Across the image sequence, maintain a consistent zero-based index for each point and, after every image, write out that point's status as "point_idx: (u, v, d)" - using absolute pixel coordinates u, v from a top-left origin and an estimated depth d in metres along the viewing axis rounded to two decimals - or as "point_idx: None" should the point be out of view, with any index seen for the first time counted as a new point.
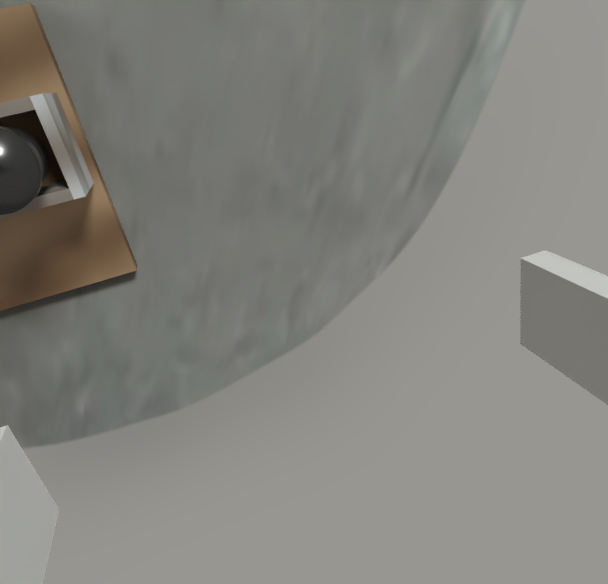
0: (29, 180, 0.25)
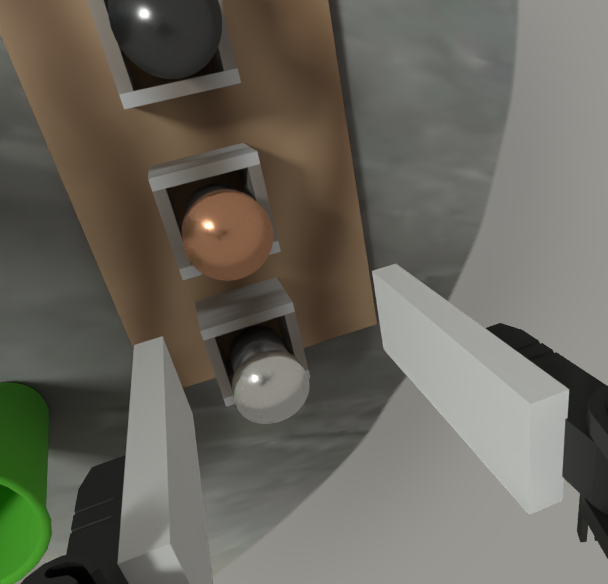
0: None
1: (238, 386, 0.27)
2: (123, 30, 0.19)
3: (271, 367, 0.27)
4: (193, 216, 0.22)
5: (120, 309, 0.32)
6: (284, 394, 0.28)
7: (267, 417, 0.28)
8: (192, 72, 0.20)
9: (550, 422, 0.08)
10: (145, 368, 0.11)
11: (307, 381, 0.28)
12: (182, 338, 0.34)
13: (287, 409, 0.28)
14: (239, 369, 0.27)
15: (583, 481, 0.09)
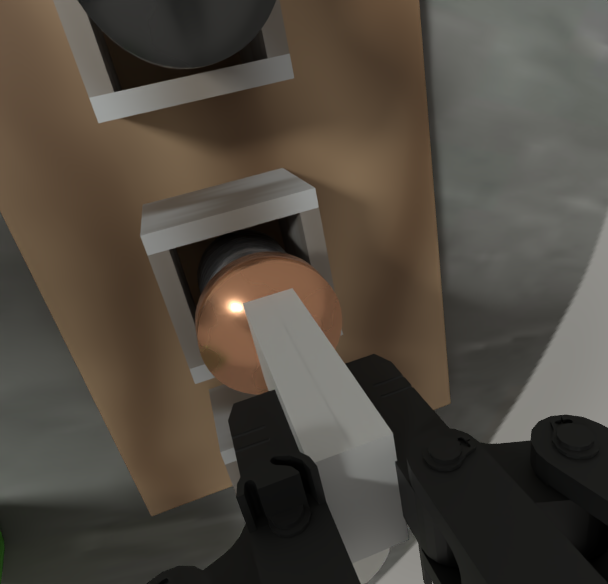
0: None
1: None
2: None
3: None
4: (215, 301, 0.13)
5: (102, 406, 0.22)
6: None
7: None
8: (223, 56, 0.10)
9: (378, 465, 0.08)
10: (263, 320, 0.12)
11: None
12: (191, 438, 0.24)
13: None
14: None
15: (417, 533, 0.08)
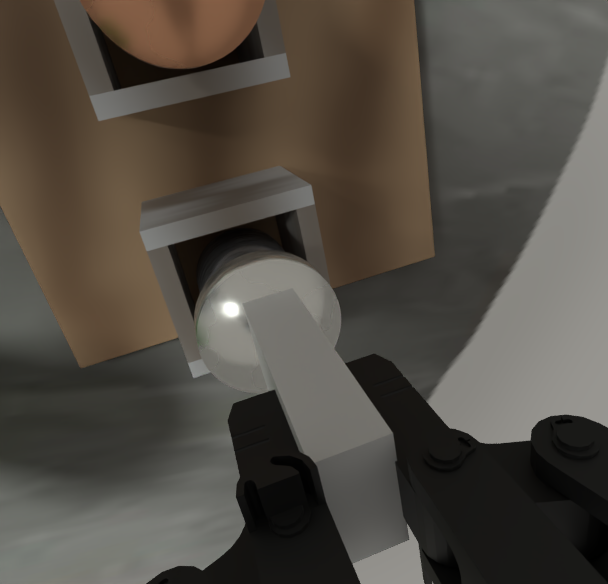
0: None
1: (204, 316, 0.14)
2: None
3: (269, 279, 0.14)
4: None
5: (9, 209, 0.18)
6: None
7: (261, 380, 0.15)
8: None
9: (378, 465, 0.08)
10: (263, 321, 0.12)
11: (337, 312, 0.15)
12: (123, 267, 0.21)
13: None
14: (207, 285, 0.14)
15: (417, 533, 0.08)
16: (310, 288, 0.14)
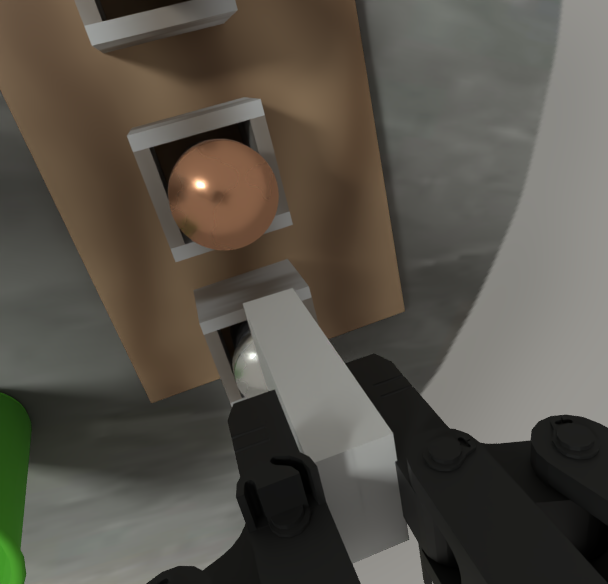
0: None
1: (239, 363, 0.24)
2: None
3: None
4: (180, 170, 0.18)
5: (106, 301, 0.27)
6: None
7: None
8: None
9: (378, 465, 0.08)
10: (263, 320, 0.12)
11: None
12: (181, 333, 0.29)
13: None
14: (239, 345, 0.24)
15: (417, 532, 0.08)
16: None
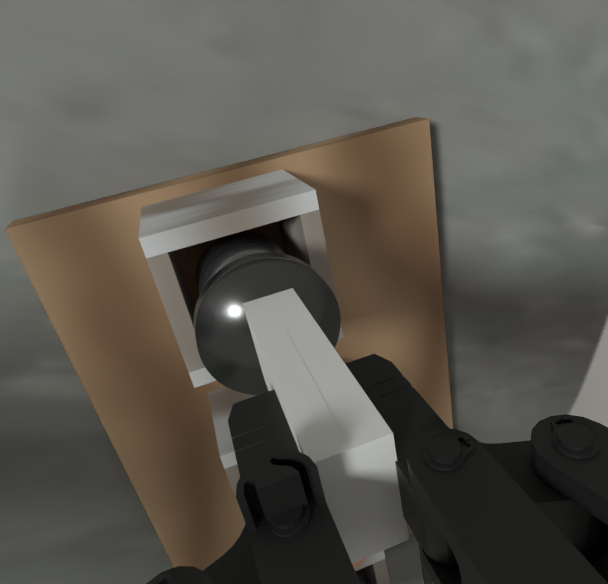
0: (288, 278, 0.14)
1: None
2: (215, 354, 0.14)
3: None
4: None
5: (166, 543, 0.26)
6: None
7: None
8: None
9: (378, 465, 0.08)
10: (263, 321, 0.12)
11: None
12: None
13: None
14: None
15: (418, 533, 0.08)
16: None
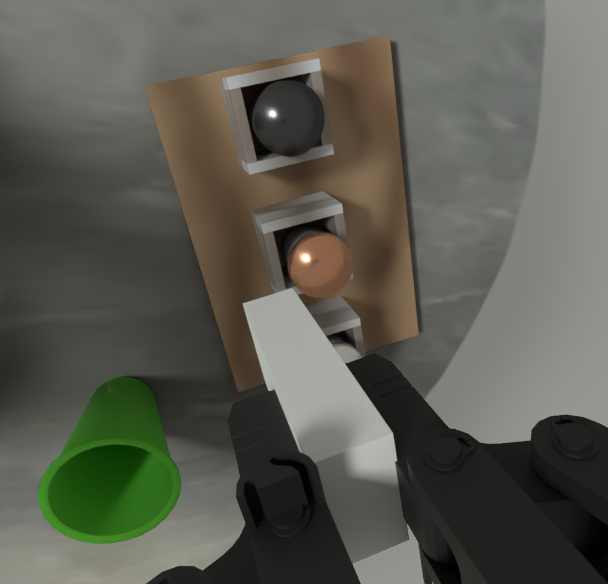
0: (299, 90, 0.29)
1: None
2: (262, 128, 0.29)
3: (338, 353, 0.37)
4: (299, 252, 0.31)
5: (219, 320, 0.40)
6: None
7: None
8: (303, 152, 0.30)
9: (378, 465, 0.08)
10: (263, 321, 0.12)
11: None
12: None
13: None
14: None
15: (417, 533, 0.08)
16: (353, 356, 0.37)
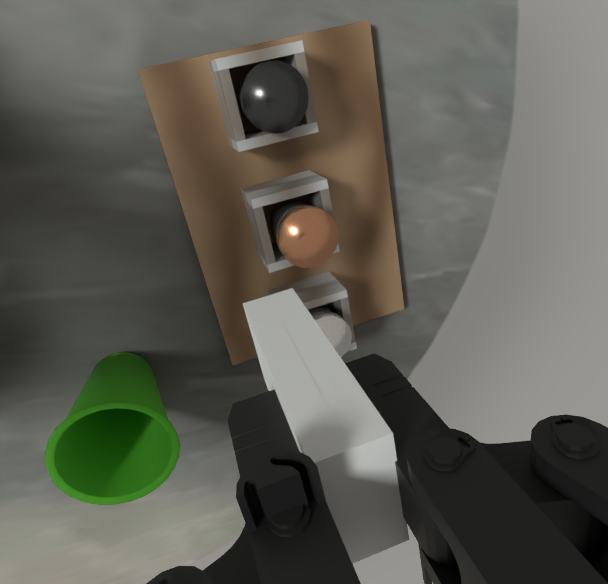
0: (283, 69, 0.31)
1: None
2: (250, 106, 0.31)
3: (327, 323, 0.39)
4: (287, 223, 0.33)
5: (213, 295, 0.42)
6: (334, 343, 0.40)
7: None
8: (288, 129, 0.32)
9: (378, 465, 0.08)
10: (263, 321, 0.12)
11: (350, 334, 0.40)
12: None
13: None
14: None
15: (417, 533, 0.08)
16: (341, 326, 0.39)
